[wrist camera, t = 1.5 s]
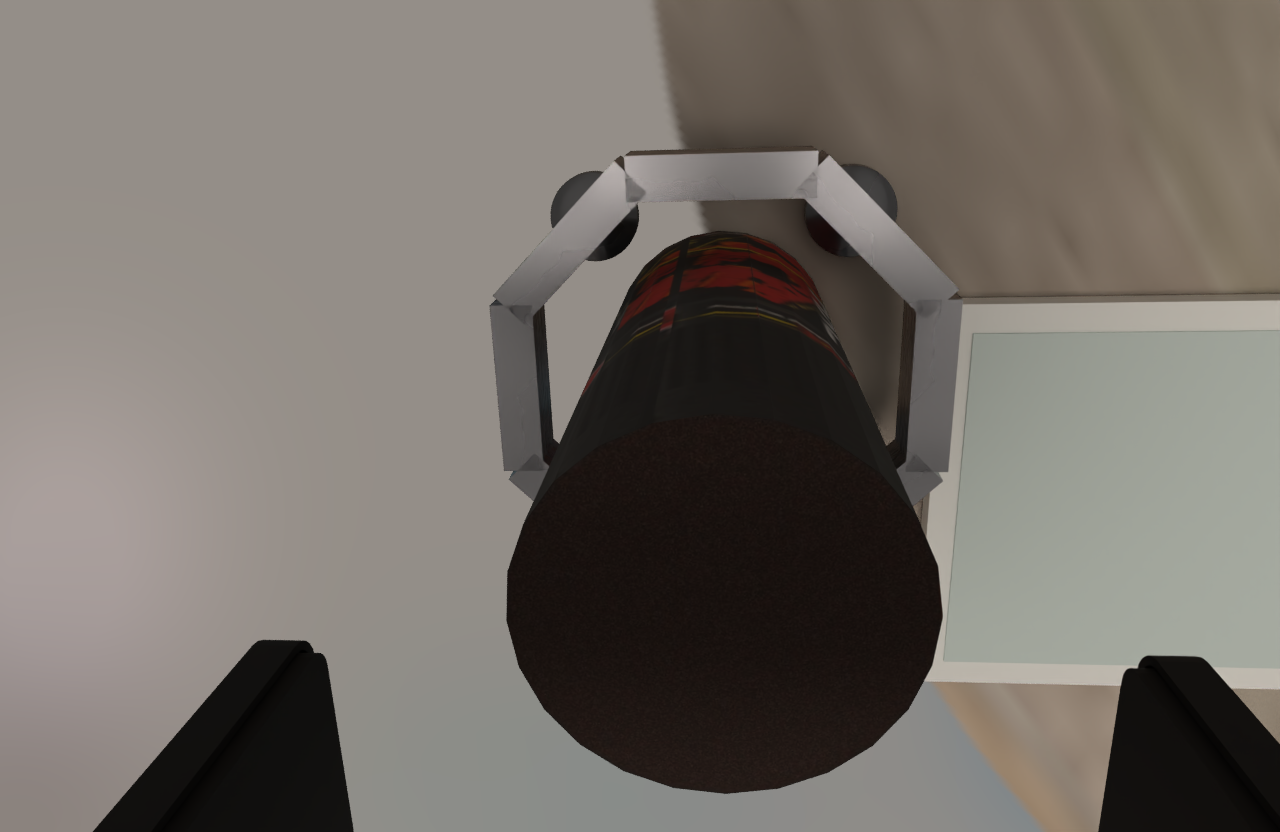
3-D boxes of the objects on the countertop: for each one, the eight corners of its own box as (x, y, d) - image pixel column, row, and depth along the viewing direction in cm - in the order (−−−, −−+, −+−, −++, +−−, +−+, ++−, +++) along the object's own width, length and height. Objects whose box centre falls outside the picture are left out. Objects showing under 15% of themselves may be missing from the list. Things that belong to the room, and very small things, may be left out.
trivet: (938, 298, 26) (945, 305, 25) (1401, 291, 25) (1424, 299, 24) (910, 665, 30) (915, 683, 29) (1306, 674, 29) (1324, 692, 28)
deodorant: (870, 329, 26) (1038, 616, 12) (725, 469, 28) (727, 859, 14) (716, 185, 25) (709, 317, 11) (577, 340, 27) (420, 621, 13)
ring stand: (522, 145, 25) (476, 160, 21) (927, 133, 24) (975, 146, 20) (548, 505, 29) (514, 587, 24) (901, 507, 28) (938, 593, 23)
